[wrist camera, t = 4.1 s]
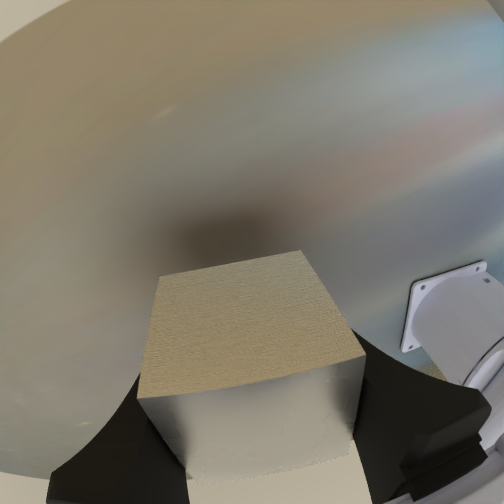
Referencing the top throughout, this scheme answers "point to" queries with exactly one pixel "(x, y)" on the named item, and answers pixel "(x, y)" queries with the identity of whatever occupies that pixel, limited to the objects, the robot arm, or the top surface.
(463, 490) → the robot arm
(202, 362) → the wood-grain grey cube
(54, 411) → the top surface
